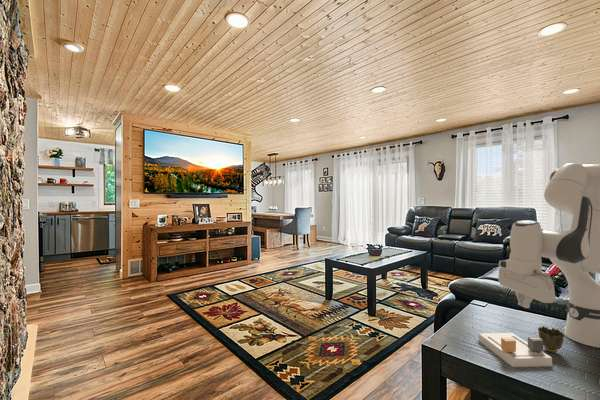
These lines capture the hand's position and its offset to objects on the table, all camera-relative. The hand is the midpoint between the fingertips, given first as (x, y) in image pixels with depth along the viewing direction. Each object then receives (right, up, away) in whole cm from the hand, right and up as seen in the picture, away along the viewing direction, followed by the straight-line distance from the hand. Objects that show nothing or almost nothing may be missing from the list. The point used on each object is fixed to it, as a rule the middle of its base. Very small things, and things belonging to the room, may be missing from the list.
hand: (523, 306), depth 99 cm
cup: (+17, -21, +9) cm, 28 cm away
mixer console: (+2, -21, +8) cm, 22 cm away
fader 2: (+7, -17, +4) cm, 19 cm away
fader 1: (-3, -17, +4) cm, 18 cm away
